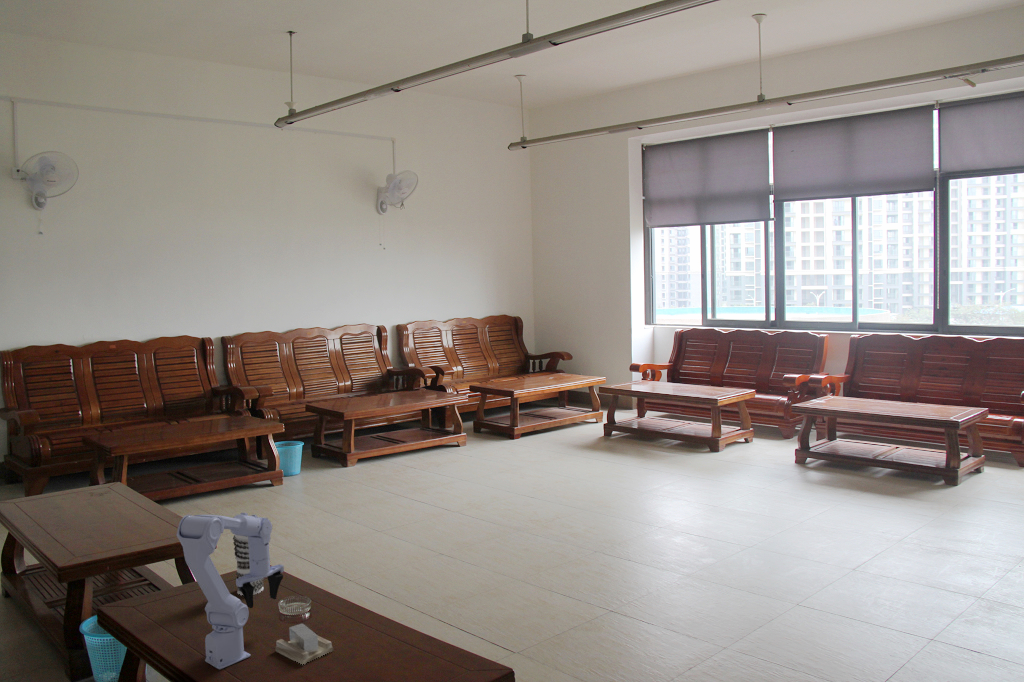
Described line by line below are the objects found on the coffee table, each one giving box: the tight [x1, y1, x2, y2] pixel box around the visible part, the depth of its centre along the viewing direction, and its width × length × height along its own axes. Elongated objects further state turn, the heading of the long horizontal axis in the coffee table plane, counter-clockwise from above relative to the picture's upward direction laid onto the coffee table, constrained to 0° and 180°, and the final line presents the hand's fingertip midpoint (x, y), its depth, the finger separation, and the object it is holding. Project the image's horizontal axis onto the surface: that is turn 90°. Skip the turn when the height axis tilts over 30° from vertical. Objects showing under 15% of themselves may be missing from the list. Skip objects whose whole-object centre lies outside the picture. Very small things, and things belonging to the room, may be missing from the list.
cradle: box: [274, 635, 334, 666], centre depth 218 cm, size 10×13×3 cm
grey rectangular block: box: [288, 623, 319, 654], centre depth 218 cm, size 4×10×4 cm, turn 39°
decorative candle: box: [232, 534, 264, 596], centre depth 261 cm, size 9×9×25 cm
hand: (261, 602), depth 229 cm, fingers open, 7 cm apart
